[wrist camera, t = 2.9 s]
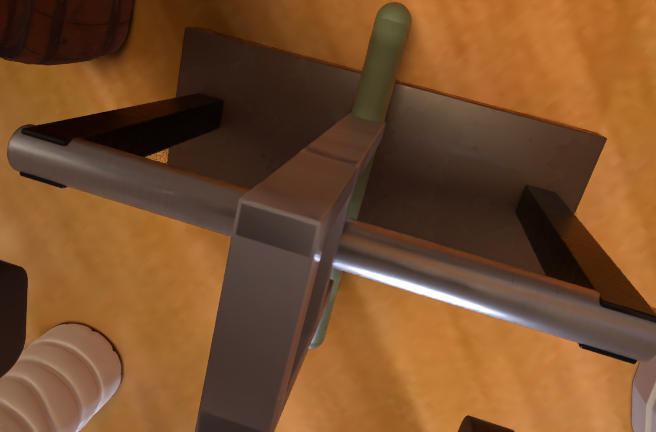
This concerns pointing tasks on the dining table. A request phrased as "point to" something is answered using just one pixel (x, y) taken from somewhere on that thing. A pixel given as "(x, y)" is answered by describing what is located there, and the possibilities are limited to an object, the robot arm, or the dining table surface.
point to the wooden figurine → (62, 29)
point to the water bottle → (59, 381)
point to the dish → (644, 397)
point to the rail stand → (370, 185)
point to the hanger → (294, 252)
